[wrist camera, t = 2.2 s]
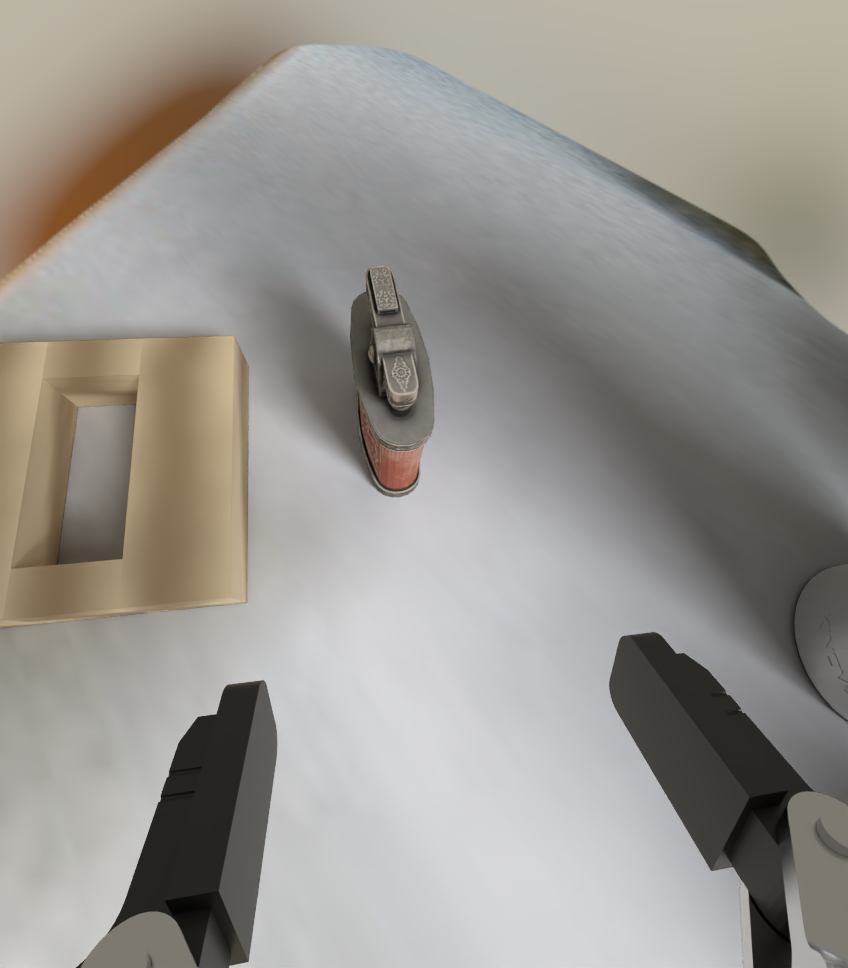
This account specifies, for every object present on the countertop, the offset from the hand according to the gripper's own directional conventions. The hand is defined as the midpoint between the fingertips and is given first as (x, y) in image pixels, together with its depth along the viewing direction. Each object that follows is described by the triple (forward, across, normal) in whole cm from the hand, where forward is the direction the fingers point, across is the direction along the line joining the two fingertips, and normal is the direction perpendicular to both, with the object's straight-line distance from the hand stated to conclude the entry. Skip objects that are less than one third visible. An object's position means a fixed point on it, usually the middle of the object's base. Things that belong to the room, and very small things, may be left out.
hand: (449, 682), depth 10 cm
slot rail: (+18, +15, +2) cm, 23 cm away
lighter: (+19, 0, +1) cm, 19 cm away
